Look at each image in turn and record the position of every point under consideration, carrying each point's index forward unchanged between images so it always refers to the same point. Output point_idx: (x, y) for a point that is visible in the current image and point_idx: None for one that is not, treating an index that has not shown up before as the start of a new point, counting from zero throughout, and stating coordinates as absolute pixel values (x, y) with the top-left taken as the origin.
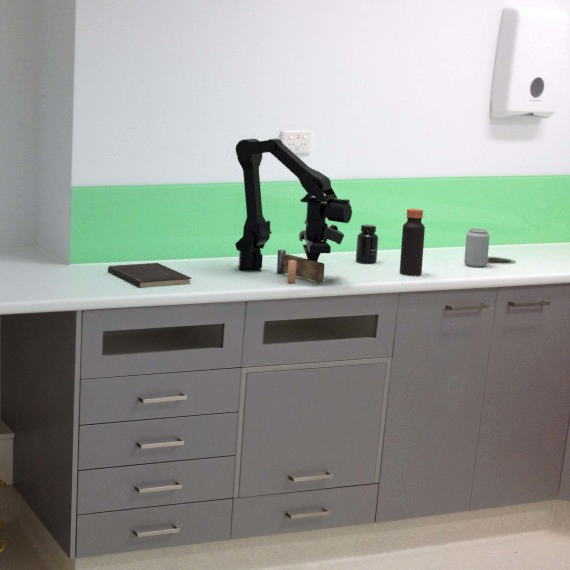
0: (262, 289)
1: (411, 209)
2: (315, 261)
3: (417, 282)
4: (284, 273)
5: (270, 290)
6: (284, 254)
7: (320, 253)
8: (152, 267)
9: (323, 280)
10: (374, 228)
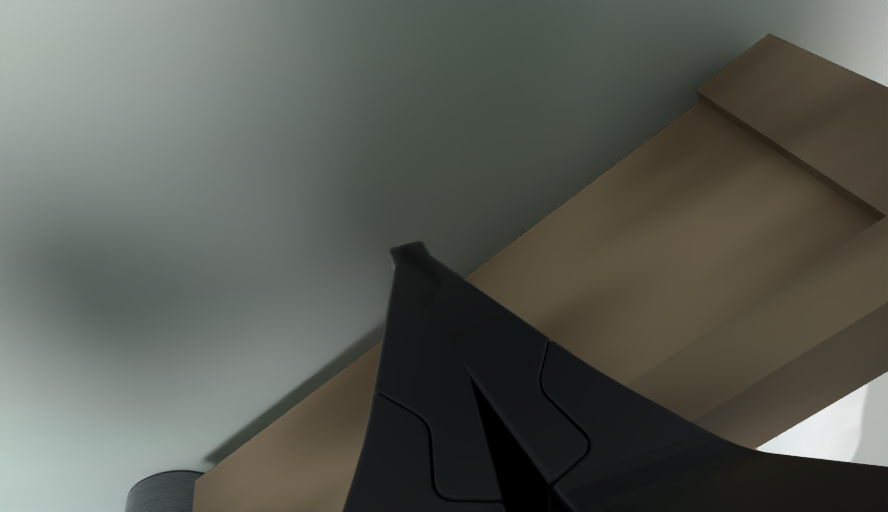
0: (804, 451)
1: None
2: (809, 360)
3: None
4: (184, 473)
5: (845, 414)
6: None
7: (781, 462)
8: None
9: (785, 44)
10: None
